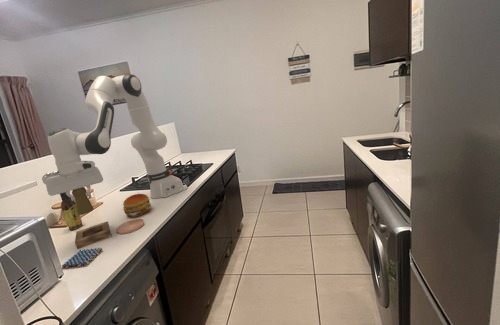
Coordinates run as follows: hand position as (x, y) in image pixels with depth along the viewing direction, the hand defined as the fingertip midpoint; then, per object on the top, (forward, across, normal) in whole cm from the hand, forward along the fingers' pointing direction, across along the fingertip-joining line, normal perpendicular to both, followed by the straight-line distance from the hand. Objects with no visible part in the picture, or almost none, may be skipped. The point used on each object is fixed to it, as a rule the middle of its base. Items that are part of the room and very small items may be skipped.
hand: (81, 198), depth 113 cm
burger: (+19, +21, +12) cm, 31 cm away
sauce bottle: (+19, -8, +22) cm, 30 cm away
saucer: (+19, +15, -4) cm, 24 cm away
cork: (+7, 0, 0) cm, 7 cm away
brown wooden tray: (+19, 0, 0) cm, 19 cm away
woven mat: (+20, -4, -19) cm, 28 cm away
